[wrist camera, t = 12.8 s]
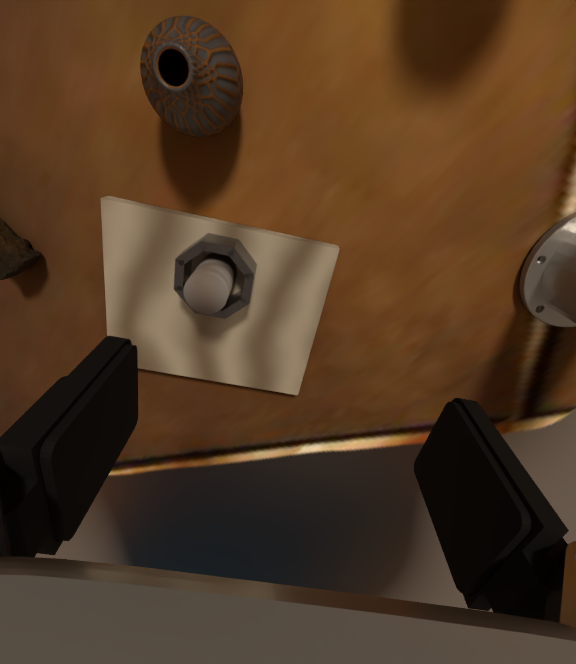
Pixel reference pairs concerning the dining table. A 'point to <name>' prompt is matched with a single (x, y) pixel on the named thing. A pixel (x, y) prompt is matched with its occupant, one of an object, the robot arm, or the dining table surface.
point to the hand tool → (14, 253)
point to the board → (204, 337)
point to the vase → (191, 76)
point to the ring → (224, 247)
